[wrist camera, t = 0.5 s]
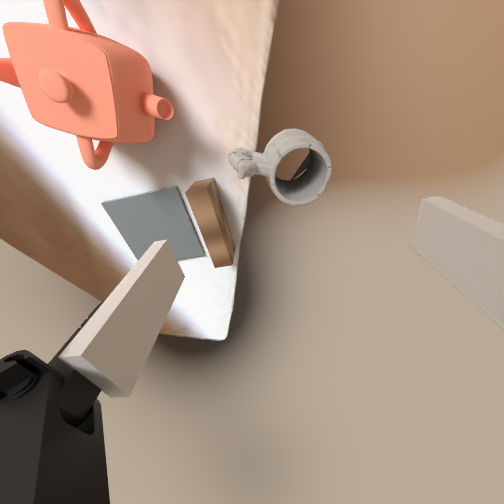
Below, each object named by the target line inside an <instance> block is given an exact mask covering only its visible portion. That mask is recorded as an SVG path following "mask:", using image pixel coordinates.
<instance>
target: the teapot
mask: <svg viewBox="0 0 504 504" xmlns="http://www.w3.org/2000/svg"><path fill="white" fill-rule="evenodd" d="M43 1H44V6H45V10H46V13H47V17H48V21H49V24H40V23H26V22H9V23H5V24H4V25H3V32H4V36H5V40H6V44H7V47H8V50H9V54H10V57H11V58H0V81H3V82H6V83H9V84H11V85H14V86H17V87H19V88H21V90H22V92H23V95H24V98H25V100H26V103H27V106H28V108H29V110H30V113H31V115H32V117H33V118H34V119H35V120H36V121H37V122H39V123H41V124H43V125H46V126H48V127H51V128H54V129H57V130H60V131H64V132H67V133H71V134H74V135H77V140H78V144H79V148H80V152H81V155H82V158H83V160H84V162H85V164H86V165H87V166H88V167H89V168H91V169H94V170H97V169H100V168H101V167H102V166H103V165H104V164H105V163H106V161H107V159H108V157H109V154H110V151H111V149H112V146H113V143H127V144H139V143H146V142H149V141H151V140H152V139H153V137H154V133H155V118H158V119H162V120H166V121H168V120H171V119H172V118H173V116H174V107H173V104H172V103H171V102H170V101H169V100H168V99H165V98H162V97H159V96H156V95H154V90H153V80H152V72H151V68H150V66H149V64H148V62H147V60H146V59H145V58H144V57H143V56H142V55H141V54H139V53H138V52H136V51H134V50H133V49H131V48H129V47H127V46H125V45H123V44H120V43H118V42H116V41H114V40H111V39H109V38H106V37H104V36H101V35H98V34H97V33H96V31H95V29H94V27H93V25H92V23H91V21H90V19H89V17H88V15H87V13H86V12H85V10H84V8H83V6H82V4H81V2H80V1H79V0H43ZM64 5H65V7H66V8H67V9H68V11H69V12H70V14H71V16H72V17H73V19H74V20H75V22H76V23H77V25H78V27H79V28H80V29H77V28H72V27H68V23H67V18H66V13H65V8H64ZM92 139H95V140H100V142H99V144H98V147H97V149H96V150H95V151H94V147H93V142H92Z"/></svg>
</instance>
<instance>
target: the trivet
mask: <svg viewBox="0 0 504 504" xmlns="http://www.w3.org/2000/svg"><path fill="white" fill-rule="evenodd" d="M101 204H102V205H103V207H104V209H105V210H106V212H107V213H108V215H109V216H110V218H111V219H112V221H113V222H114V224H115V226H116V227H117V229H118V230H119V232H120V233H121V235H122V236H123V238H124V240H125V241H126V243H127V244H128V246H129V247H130V249H131V250H132V252H133V253H134V255H135V257H136V258H137V260H138V261H139V259H140V258H141V257H142V256H143V255H144V253H145V252H146V251H147V250H148V248H149V247H150V246H151V245H152V244H153V242H155V241H161V240H167V241H168V243H169V245H170V247H171V249H172V251H173V253H174V255H175V257H176V259H177V260H179V259H185V258H192V257H198V256H204V254H205V253H204V251H203V248H202V246H201V244H200V241H199V239H198V236H197V234H196V231H195V229H194V227H193V224H192V222H191V219H190V217H189V214H188V212H187V210H186V207H185V205H184V202H183V200H182V197H181V195H180V193H179V190H178V188H177V186H174V187H170V188H165V189H160V190H156V191H151V192H147V193H142V194H137V195H133V196H128V197H124V198H119V199H114V200H110V201H105V202H102V203H101Z"/></svg>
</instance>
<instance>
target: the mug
mask: <svg viewBox="0 0 504 504" xmlns="http://www.w3.org/2000/svg"><path fill="white" fill-rule="evenodd" d="M300 148H309V150H310V153H309V154H308V156H307V157H306V158H305V160H304V161H303V163H302V164H301V166H300V167H299V169H298V170H297V172H296V173H295V175H294V176H293V178H292V179H291V180H290V181H286V180H281V179H278V178H277V177H275V172H276V169H277V166H278V164H279V162H280V161H281V159H282V158H283V157H284V156H285V155H287V154H288V153H290V152H291V151H293V150H296V149H300ZM229 162H230V164H231V165H232V166H233V168H234V169H235V170H236V171H237V172H238V177H239V179H244V178H245V177H251V176H253V175H256V174H257V175H262V176H266V179H267V182H268V185H269V187H270V188H271V190H272V191H273V193H274V194H275V195H276V196H277V197H278V199H279V200H281V201H282V202H284V203H286V204H288V205H292V206H294V205H304V204H308V203H311V202H313V201H315V200H316V199H318V198H319V196H321V195H322V194H323V192H324V191H325V190H326V186H327V184H328V183H329V182H330V179H331V174H332V168H331V166H332V165H331V160H330V158H329V156H328V154H327V153H326V151H325V150H324V147H323V145H322V143H321V142H319V141H317V140H316V139H314V137H313V136H311V135H310V134H308V133H307V132H305V131H302V130H300V129H285V130H283V131H282V132H280V133H278V134H277V135H275V136H274V137H273V138H272V139H271V140H270V141H269V143H268V144H267V146H266V148H265V151H264V153H263V154H262V153H258V152H254V151H250V150H247V149H243V148H237V149H235V150H233V151H231V152H229ZM307 167H308V168H307ZM306 168H307V170H306V171H305V172H304V173H303V174H302V175H301V176H300V177H299V178H297V179H294V178H295V177H297V176H298V175H299V174H300V173H301V172H302V171H303V170H305V169H306ZM293 179H294V180H293Z"/></svg>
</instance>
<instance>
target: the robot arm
mask: <svg viewBox="0 0 504 504" xmlns="http://www.w3.org/2000/svg"><path fill="white" fill-rule="evenodd" d="M409 247H410V248H411V249H412V250H413V251H415V252H416V253H417V254H418V255H419V256H420V257H421V258H422V259H424V260H425V261H426V262H427V263H428V264H429V265H430V266H432V267H433V268H434V269H435V270H436V271H437V272H438V273H440V274H441V275H442V276H443V277H444V278H445V279H446V280H447V281H449V282H450V283H451V284H452V285H453V286H454V287H455V288H457V289H458V290H459V291H460V292H461V293H462V294H463V295H465V296H466V297H467V298H468V299H469V300H470V301H471V302H472V303H474V304H475V305H476V306H477V307H478V308H479V309H480V310H482V311H483V312H484V313H485V314H486V315H487V316H488V317H489V318H491V319H492V320H493V321H494V322H495V323H496V324H497V325H498V326H500V327H501V328H502V329H503V330H504V224H502V223H500V222H498V221H496V220H493V219H491V218H489V217H487V216H484V215H482V214H480V213H478V212H475V211H473V210H471V209H469V208H466V207H464V206H462V205H460V204H458V203H455V202H453V201H451V200H449V199H446V198H444V197H442V196H434V197H428V198H423V199H422V201H421V205H420V208H419V212H418V215H417V219H416V223H415V226H414V230H413V234H412V238H411V241H410V245H409ZM184 278H185V276H184V274H183V272H182V270H181V268H180V266H179V263H178V261H177V259H176V257H175V255H174V253H173V251H172V249H171V247H170V245H169V243H168V241H167V240H161V241H155V242H153V244H152V245H151V246H150V247H149V248H148V250H147V251H146V252H145V253H144V255H143V256H142V257H141V258H140V259H139V261H138V262H137V263H136V264H135V265H134V267H133V268H132V269H131V270H130V271H129V273H128V274H127V275H126V276H125V277H124V279H123V280H122V281H121V282H120V283H119V285H118V286H117V287H116V288H115V289H114V291H113V292H112V293H111V294H110V295H109V297H108V298H107V299H105V300H104V301H103V302H102V303H100V304H99V305H98V306H97V307H96V308H95V309H94V310H93V312H92V313H91V314H90V315H89V316H88V319H86V320H85V321H84V322H83V323H82V325H81V328H78V329H77V331H76V332H75V333H74V334H73V335H72V336H71V337H70V339H69V340H68V341H67V342H66V343H65V345H64V346H63V347H62V348H61V349H60V350H59V352H58V353H57V354H56V355H55V356H54V358H53V359H52V360H51V361H50V362H49V363H48V364H46V363H45V362H44V361H42V360H40V359H39V358H38V357H36V356H35V355H34V354H32V353H31V352H29V351H27V350H21V351H16V352H14V353H12V354H9V355H7V356H5V357H4V358H2V359H0V504H110V499H109V488H108V477H107V466H106V456H105V444H104V434H103V423H102V411H101V404H100V402H99V400H97V397H98V395H99V393H100V392H101V390H102V391H103V392H104V393H106V394H107V395H108V396H109V397H111V398H112V397H128V396H130V395H131V393H132V390H133V388H134V386H135V384H136V382H137V379H138V377H139V375H140V373H141V371H142V369H143V366H144V364H145V362H146V360H147V358H148V356H149V353H150V351H151V349H152V347H153V345H154V342H155V340H156V338H157V336H158V334H159V332H160V330H161V327H162V325H163V323H164V321H165V319H166V317H167V314H168V312H169V310H170V308H171V306H172V304H173V301H174V299H175V297H176V295H177V293H178V291H179V288H180V286H181V284H182V282H183V280H184Z"/></svg>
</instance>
